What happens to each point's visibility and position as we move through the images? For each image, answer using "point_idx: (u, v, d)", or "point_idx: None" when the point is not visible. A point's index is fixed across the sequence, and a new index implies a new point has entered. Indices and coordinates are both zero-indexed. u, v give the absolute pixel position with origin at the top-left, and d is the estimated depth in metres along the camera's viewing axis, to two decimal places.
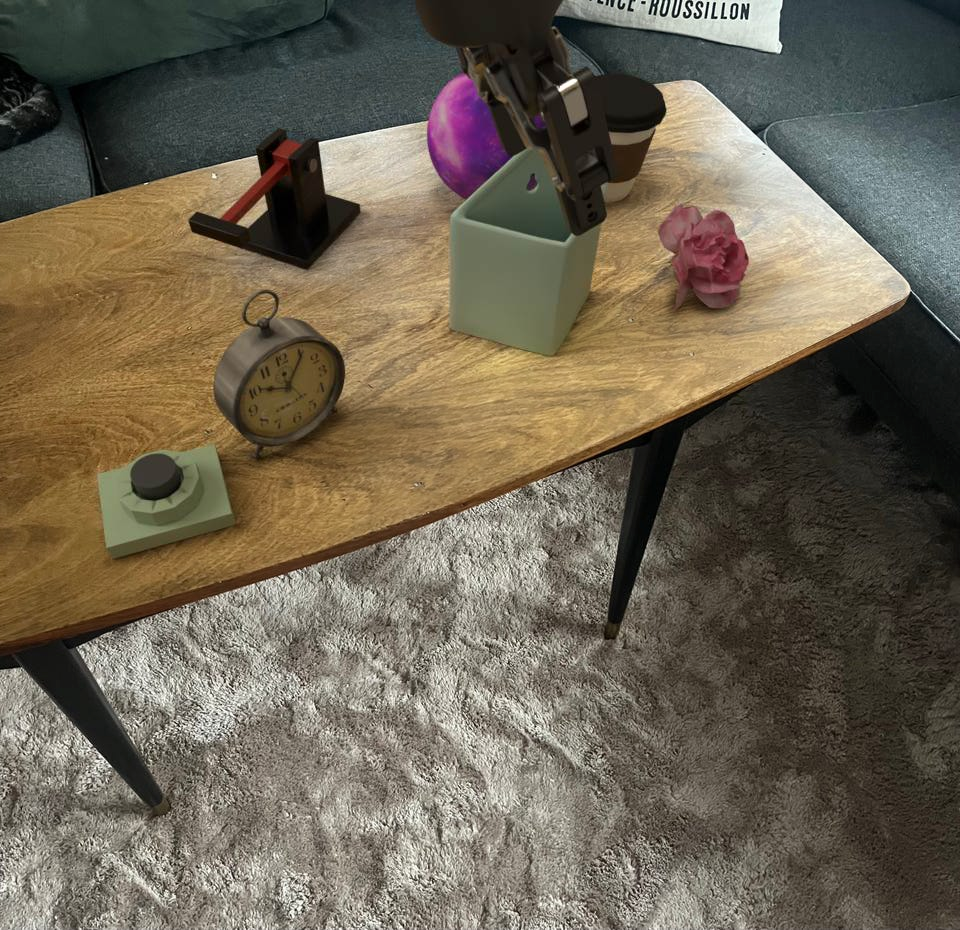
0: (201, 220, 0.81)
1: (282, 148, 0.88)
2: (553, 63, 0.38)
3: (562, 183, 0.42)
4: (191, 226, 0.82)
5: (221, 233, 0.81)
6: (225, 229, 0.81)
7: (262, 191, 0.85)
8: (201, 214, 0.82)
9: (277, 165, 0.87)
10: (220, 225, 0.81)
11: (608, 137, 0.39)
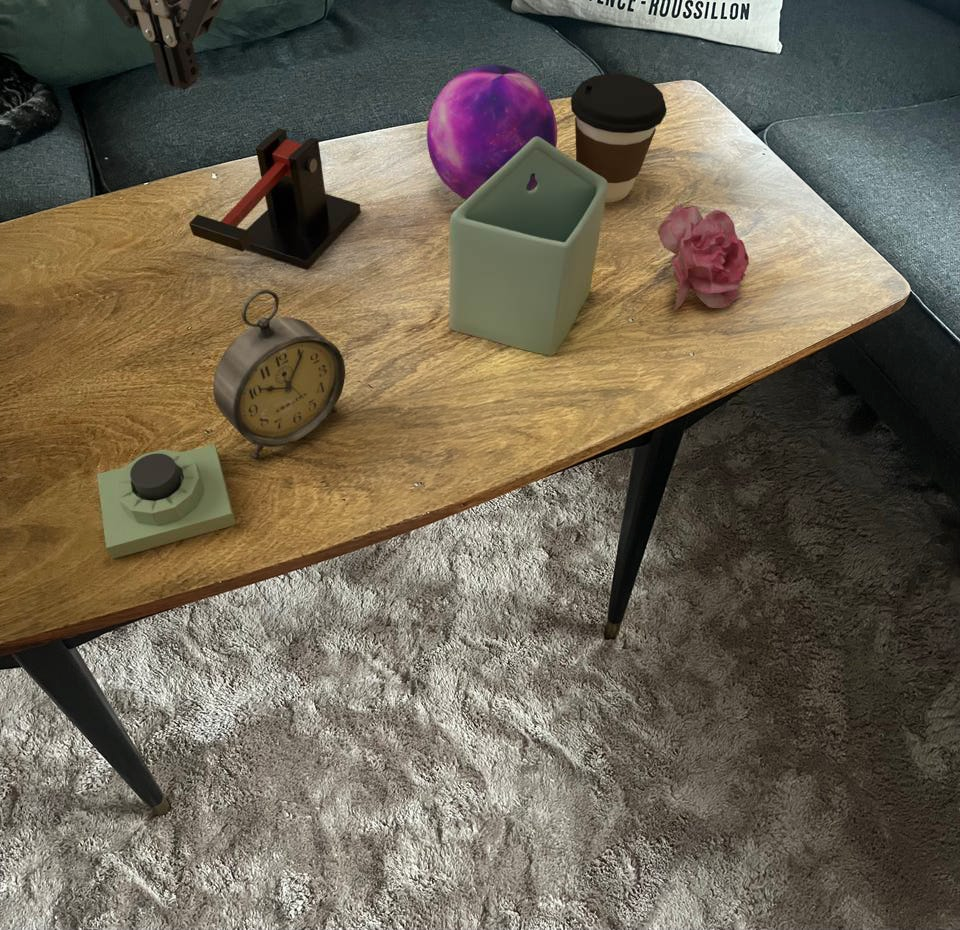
0: (202, 223, 0.82)
1: (282, 148, 0.88)
2: None
3: (175, 38, 0.66)
4: (192, 229, 0.82)
5: (222, 236, 0.81)
6: (226, 232, 0.81)
7: (263, 193, 0.86)
8: (202, 217, 0.82)
9: (277, 166, 0.87)
10: (221, 228, 0.81)
11: (217, 12, 0.65)
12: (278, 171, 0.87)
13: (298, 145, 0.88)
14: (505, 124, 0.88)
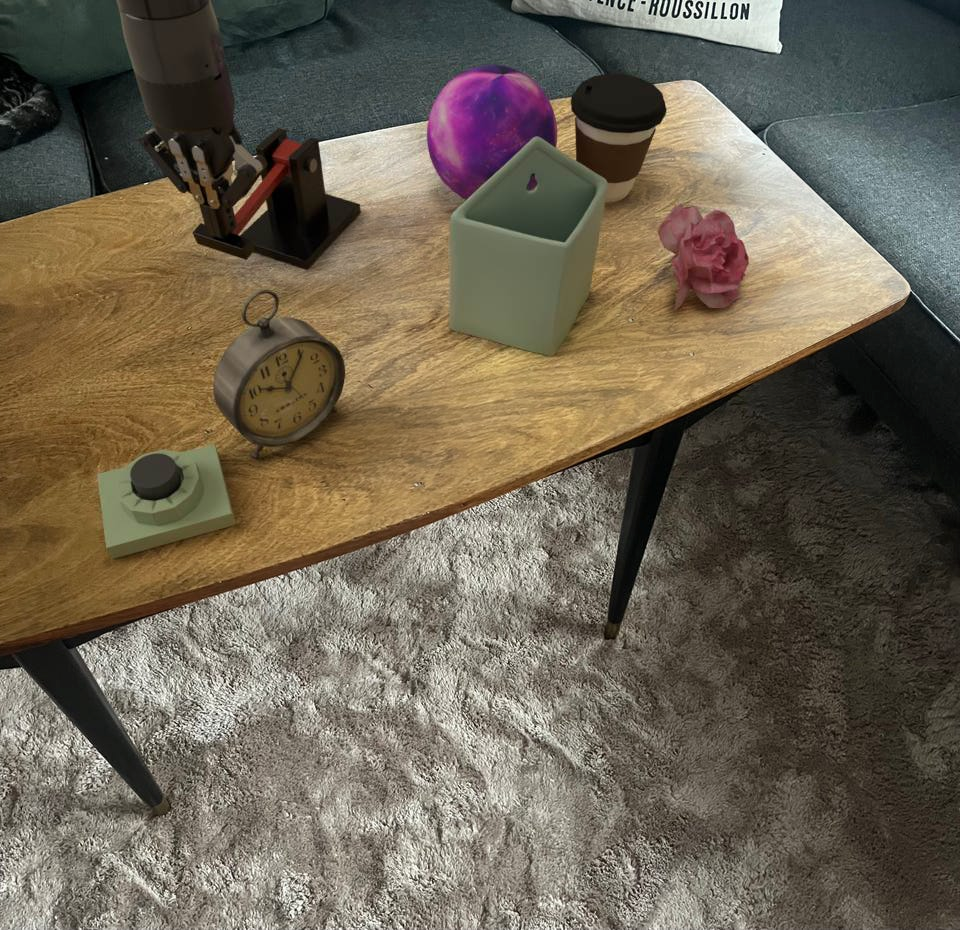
0: (205, 232, 0.83)
1: (281, 149, 0.88)
2: (242, 147, 0.74)
3: (218, 202, 0.78)
4: (196, 238, 0.83)
5: (225, 245, 0.82)
6: (229, 242, 0.82)
7: (264, 197, 0.86)
8: (205, 226, 0.83)
9: (277, 167, 0.87)
10: None
11: (254, 182, 0.77)
12: (278, 173, 0.87)
13: (297, 145, 0.88)
14: (505, 124, 0.88)
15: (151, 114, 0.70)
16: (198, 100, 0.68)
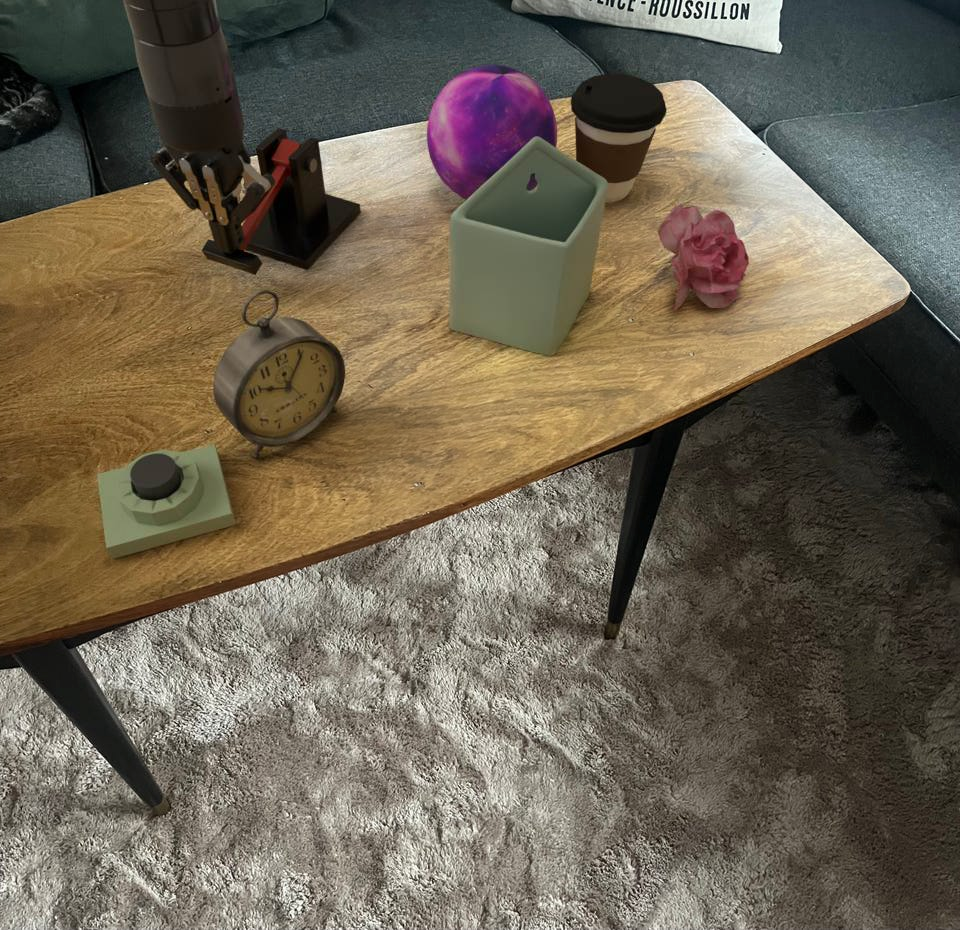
0: (213, 250, 0.85)
1: (280, 151, 0.88)
2: (250, 166, 0.76)
3: (227, 219, 0.80)
4: (205, 255, 0.86)
5: (234, 263, 0.84)
6: (237, 259, 0.84)
7: (267, 204, 0.87)
8: (213, 242, 0.85)
9: (278, 171, 0.88)
10: (232, 254, 0.84)
11: (262, 200, 0.79)
12: (279, 177, 0.87)
13: (296, 145, 0.88)
14: (505, 124, 0.88)
15: (163, 135, 0.72)
16: (209, 122, 0.71)
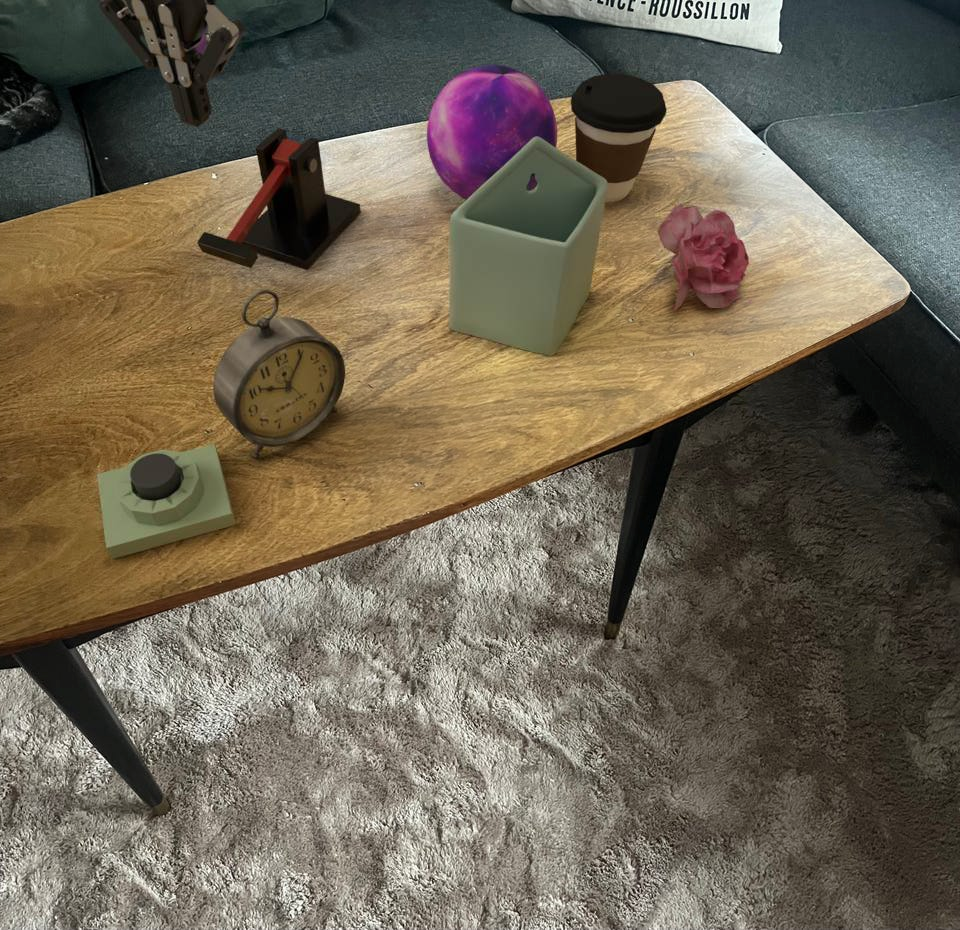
0: (209, 242, 0.84)
1: (281, 150, 0.88)
2: (215, 8, 0.65)
3: (190, 79, 0.69)
4: (200, 247, 0.85)
5: (229, 255, 0.83)
6: (233, 251, 0.83)
7: (265, 201, 0.86)
8: (209, 235, 0.84)
9: (278, 169, 0.88)
10: (228, 247, 0.83)
11: (231, 55, 0.68)
12: (279, 175, 0.87)
13: (297, 145, 0.88)
14: (505, 124, 0.88)
15: None
16: None
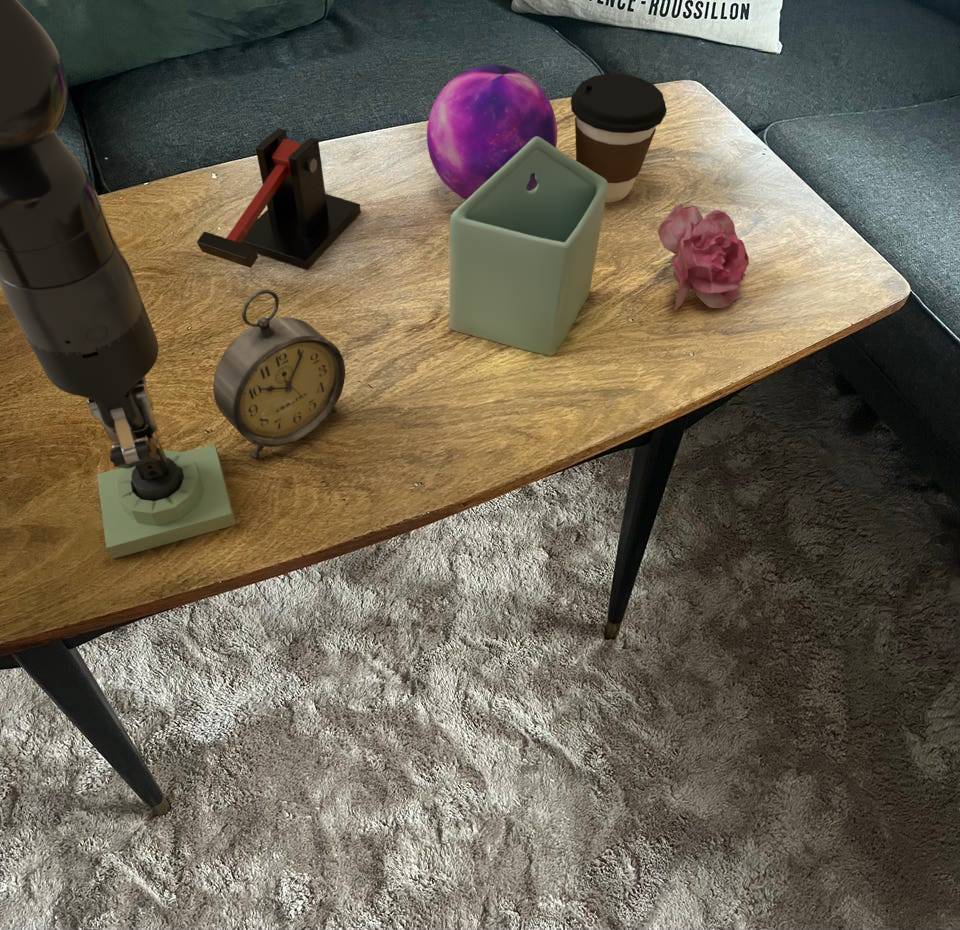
0: (209, 241, 0.84)
1: (281, 150, 0.88)
2: (127, 426, 0.57)
3: None
4: (200, 247, 0.84)
5: (229, 254, 0.83)
6: (232, 251, 0.83)
7: (265, 201, 0.86)
8: (208, 234, 0.84)
9: (278, 169, 0.88)
10: (227, 246, 0.83)
11: (155, 459, 0.61)
12: (279, 175, 0.87)
13: (297, 145, 0.88)
14: (505, 124, 0.88)
15: None
16: (59, 368, 0.53)
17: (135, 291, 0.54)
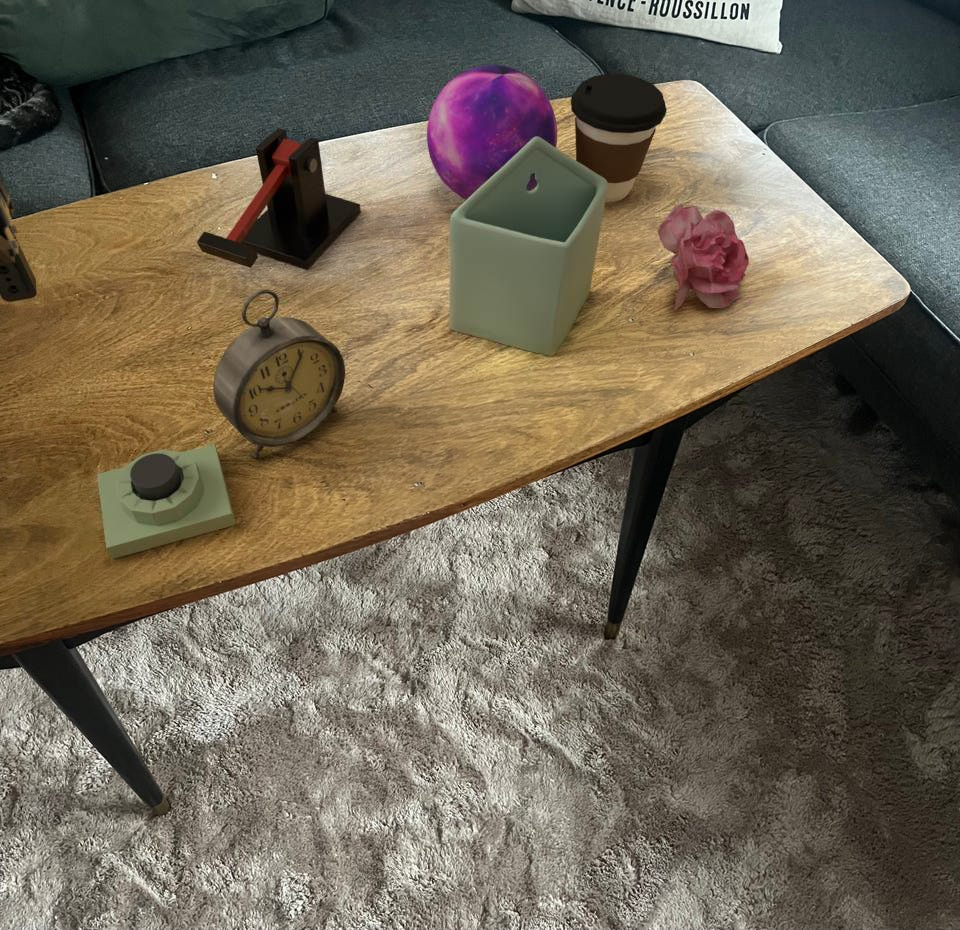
0: (209, 241, 0.84)
1: (281, 150, 0.88)
2: None
3: None
4: (200, 247, 0.84)
5: (229, 254, 0.83)
6: (232, 251, 0.83)
7: (265, 201, 0.86)
8: (208, 234, 0.84)
9: (278, 169, 0.88)
10: (227, 246, 0.83)
11: (2, 252, 0.50)
12: (279, 175, 0.87)
13: (297, 145, 0.88)
14: (505, 124, 0.88)
15: None
16: None
17: None
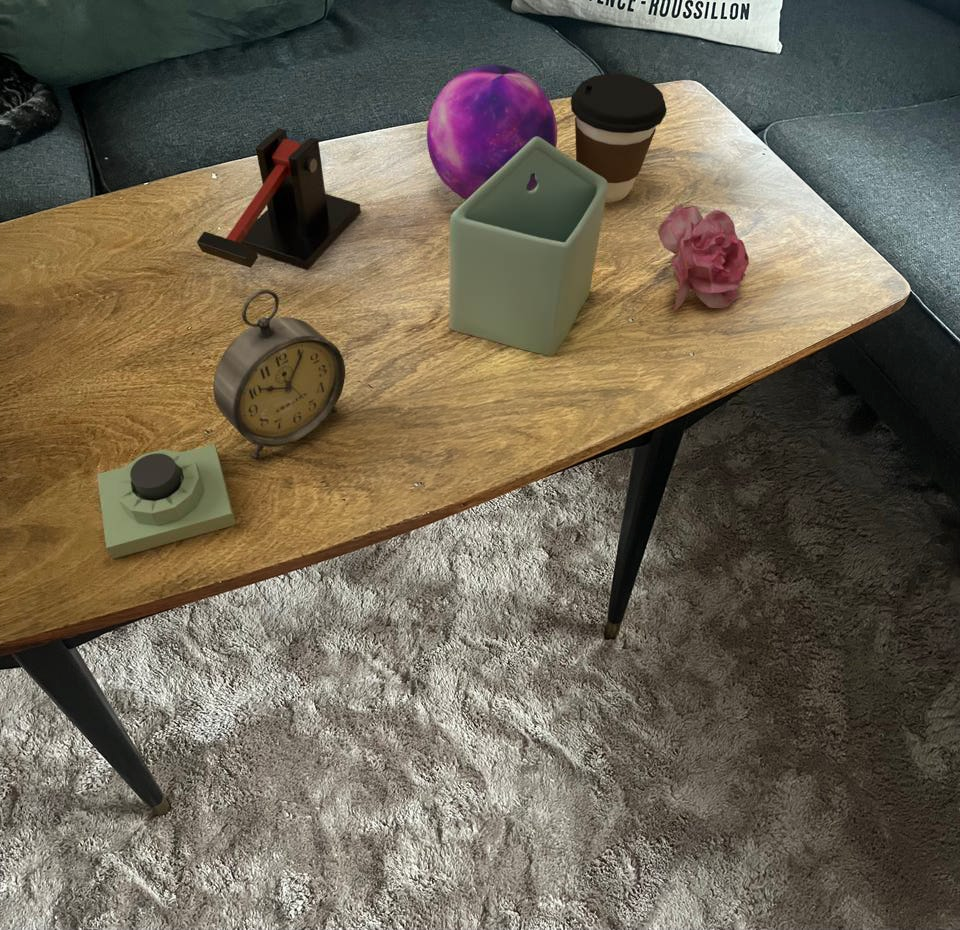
0: (209, 241, 0.84)
1: (281, 150, 0.88)
2: None
3: None
4: (200, 247, 0.84)
5: (229, 254, 0.83)
6: (232, 251, 0.83)
7: (265, 201, 0.86)
8: (208, 234, 0.84)
9: (278, 169, 0.88)
10: (227, 246, 0.83)
11: None
12: (279, 175, 0.87)
13: (297, 145, 0.88)
14: (505, 124, 0.88)
15: None
16: None
17: None
